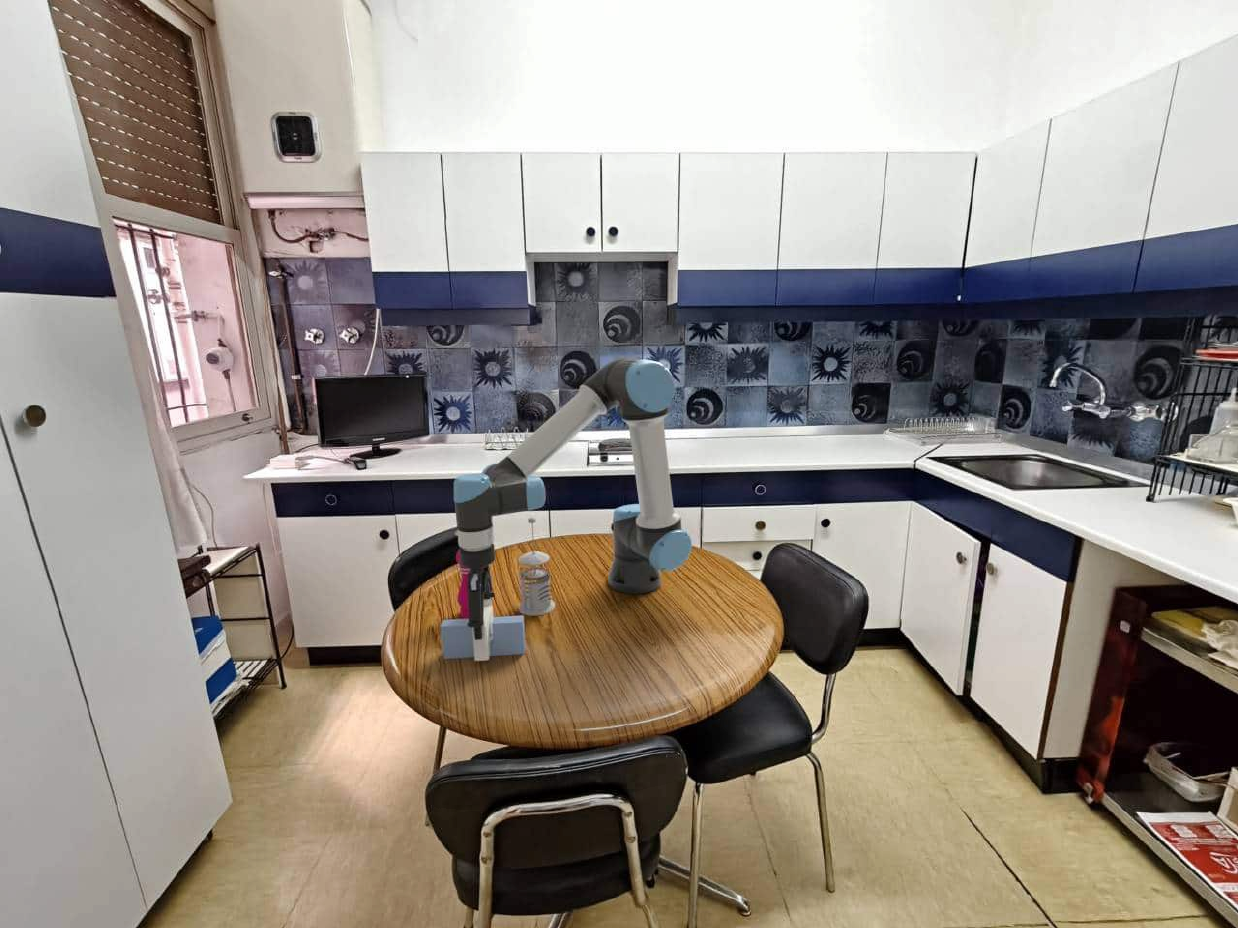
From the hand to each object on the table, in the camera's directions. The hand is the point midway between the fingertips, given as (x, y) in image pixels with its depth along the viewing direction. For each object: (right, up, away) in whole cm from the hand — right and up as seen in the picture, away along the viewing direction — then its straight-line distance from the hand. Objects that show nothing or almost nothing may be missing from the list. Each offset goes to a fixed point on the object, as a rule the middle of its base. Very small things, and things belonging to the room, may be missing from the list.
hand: (484, 636), depth 123 cm
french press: (+8, +1, +21) cm, 23 cm away
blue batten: (0, -4, +1) cm, 4 cm away
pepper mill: (-8, 0, +19) cm, 20 cm away
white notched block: (0, -3, +1) cm, 3 cm away
